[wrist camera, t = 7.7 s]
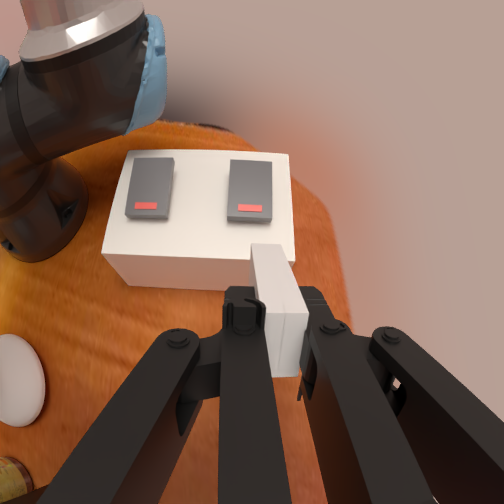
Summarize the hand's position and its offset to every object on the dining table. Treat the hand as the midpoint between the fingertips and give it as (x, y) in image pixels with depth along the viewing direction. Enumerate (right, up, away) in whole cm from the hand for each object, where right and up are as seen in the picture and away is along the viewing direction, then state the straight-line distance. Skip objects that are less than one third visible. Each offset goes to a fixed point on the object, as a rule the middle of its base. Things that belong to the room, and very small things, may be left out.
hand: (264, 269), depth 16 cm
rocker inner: (-10, +7, +11) cm, 16 cm away
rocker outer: (-1, +6, +11) cm, 13 cm away
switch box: (-6, +2, +21) cm, 22 cm away
